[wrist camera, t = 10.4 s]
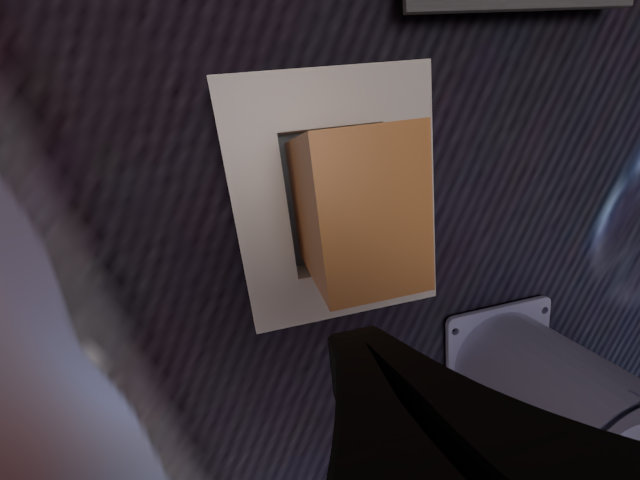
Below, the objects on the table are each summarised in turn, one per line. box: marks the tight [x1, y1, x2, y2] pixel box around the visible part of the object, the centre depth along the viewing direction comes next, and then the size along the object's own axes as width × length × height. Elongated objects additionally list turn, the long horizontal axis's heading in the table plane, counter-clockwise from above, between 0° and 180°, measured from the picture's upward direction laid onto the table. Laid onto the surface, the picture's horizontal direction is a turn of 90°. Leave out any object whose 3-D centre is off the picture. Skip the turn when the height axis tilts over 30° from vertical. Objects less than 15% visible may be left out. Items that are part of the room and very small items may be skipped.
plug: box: [284, 117, 435, 312], centre depth 14 cm, size 6×4×7 cm, turn 7°
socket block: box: [207, 59, 436, 334], centre depth 16 cm, size 12×10×2 cm
